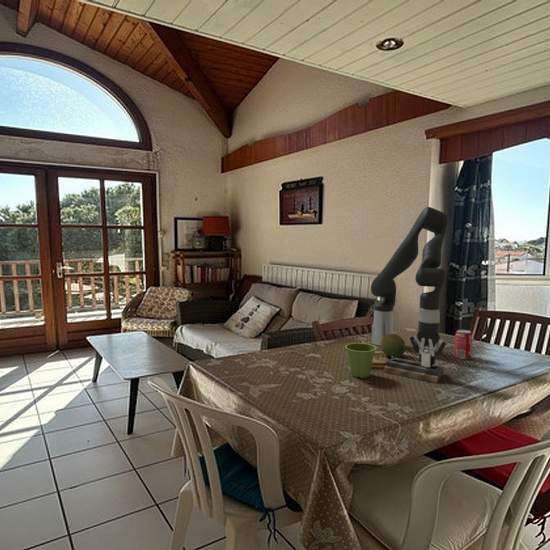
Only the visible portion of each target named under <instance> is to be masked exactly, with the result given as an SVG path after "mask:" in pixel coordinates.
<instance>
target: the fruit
mask: <svg viewBox="0 0 550 550" xmlns="http://www.w3.org/2000/svg"><path fill="white" fill-rule="evenodd" d="M379 347H380V349H381V350H380V351H382V353H383V354H384V355H385V356H387V355H389V356H393V357H398V358H401V357H402V356H403V355H404V354H405V352H406V349H407V348H406V343H405V340H404V338H403V337H401V336H400V335H398V334H396V333H392V334H387V335H385V336H384V337H383V338H382V339H381V342H380V346H379ZM389 356H388V357H389Z"/></svg>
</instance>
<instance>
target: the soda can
mask: <svg viewBox="0 0 550 550" xmlns="http://www.w3.org/2000/svg"><path fill="white" fill-rule="evenodd" d="M453 347H454V350H453V352H454V357H456V358H457V359H460V360H468V359H470V358H472V355H473V354H472V353H473V334H472V331H471V330H467V329H456V332H455V334H454V345H453Z"/></svg>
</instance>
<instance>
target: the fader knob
mask: <svg viewBox="0 0 550 550" xmlns="http://www.w3.org/2000/svg"><path fill="white" fill-rule="evenodd" d="M430 360H431V350H430V349H425V350H424V352H422V356H421V366H424V367H427V368H430V366H431V365H430Z"/></svg>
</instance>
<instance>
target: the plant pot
mask: <svg viewBox="0 0 550 550" xmlns="http://www.w3.org/2000/svg"><path fill="white" fill-rule="evenodd" d="M344 348H345V349H346V354H347V356H348V363H349V369H350V370H349V371H350V375H351V376H353V377H354V378H360V379H364V378H365V379H367V378H369V377H370V375H371V372H372V366H373V359H374V356H375V353H376V350H377V345H375V344H372V343H371V344H370V343H366V342H365V343H362V342H354V343H349V344H346V345H345V346H344Z"/></svg>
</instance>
